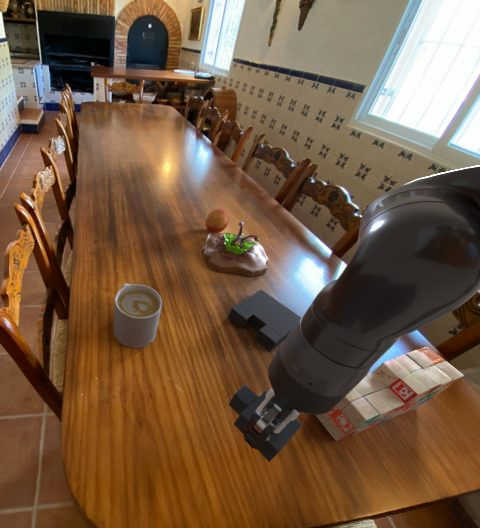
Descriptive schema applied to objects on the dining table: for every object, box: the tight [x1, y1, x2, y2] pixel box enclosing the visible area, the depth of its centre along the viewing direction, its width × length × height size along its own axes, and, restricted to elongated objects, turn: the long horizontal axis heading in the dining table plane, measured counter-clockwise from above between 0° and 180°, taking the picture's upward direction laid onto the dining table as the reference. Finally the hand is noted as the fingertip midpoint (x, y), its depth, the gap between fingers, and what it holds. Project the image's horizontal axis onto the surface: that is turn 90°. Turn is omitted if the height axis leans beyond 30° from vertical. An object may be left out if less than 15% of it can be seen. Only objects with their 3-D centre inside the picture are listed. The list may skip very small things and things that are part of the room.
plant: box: [200, 221, 269, 278], centre depth 90 cm, size 20×20×11 cm
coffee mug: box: [112, 283, 163, 349], centre depth 67 cm, size 13×10×10 cm
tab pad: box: [228, 384, 303, 463], centre depth 43 cm, size 6×8×4 cm
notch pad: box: [227, 289, 303, 353], centre depth 72 cm, size 12×12×4 cm
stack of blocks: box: [315, 346, 465, 442], centre depth 54 cm, size 21×6×12 cm, turn 108°
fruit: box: [205, 208, 230, 233], centre depth 102 cm, size 8×8×8 cm
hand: (264, 427), depth 43 cm, fingers closed on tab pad, 6 cm apart
